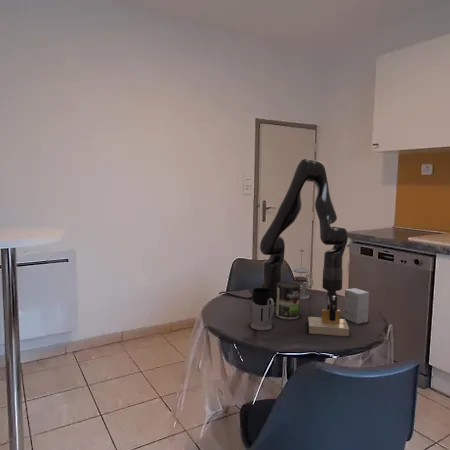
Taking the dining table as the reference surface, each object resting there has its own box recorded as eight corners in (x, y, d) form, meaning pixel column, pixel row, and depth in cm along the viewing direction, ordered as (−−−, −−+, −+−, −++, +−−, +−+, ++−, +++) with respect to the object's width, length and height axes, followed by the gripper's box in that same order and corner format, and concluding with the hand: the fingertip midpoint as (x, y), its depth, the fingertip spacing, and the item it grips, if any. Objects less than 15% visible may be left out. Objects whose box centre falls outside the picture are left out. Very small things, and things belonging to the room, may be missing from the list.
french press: (298, 292, 206) (299, 247, 204) (316, 297, 198) (318, 249, 195) (286, 295, 200) (288, 248, 197) (305, 300, 191) (307, 251, 189)
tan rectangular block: (321, 322, 151) (322, 309, 151) (321, 321, 153) (321, 308, 153) (339, 323, 150) (340, 311, 150) (339, 322, 152) (339, 309, 152)
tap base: (309, 333, 148) (309, 325, 148) (307, 323, 159) (308, 316, 159) (349, 336, 145) (349, 328, 145) (345, 326, 156) (345, 318, 156)
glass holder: (266, 321, 161) (267, 286, 159) (282, 333, 147) (283, 295, 146) (247, 323, 158) (247, 288, 156) (262, 336, 144) (263, 297, 143)
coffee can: (304, 317, 166) (305, 285, 165) (285, 320, 162) (286, 288, 160) (289, 310, 176) (290, 280, 174) (271, 313, 171) (272, 282, 169)
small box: (368, 322, 161) (369, 292, 160) (357, 324, 159) (358, 293, 157) (354, 316, 169) (355, 287, 167) (343, 318, 166) (344, 289, 165)
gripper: (321, 272, 158) (320, 311, 159) (324, 280, 144) (322, 322, 145) (340, 273, 156) (338, 312, 158) (344, 281, 142) (343, 323, 144)
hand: (331, 317), depth 151 cm, fingers open, 8 cm apart
